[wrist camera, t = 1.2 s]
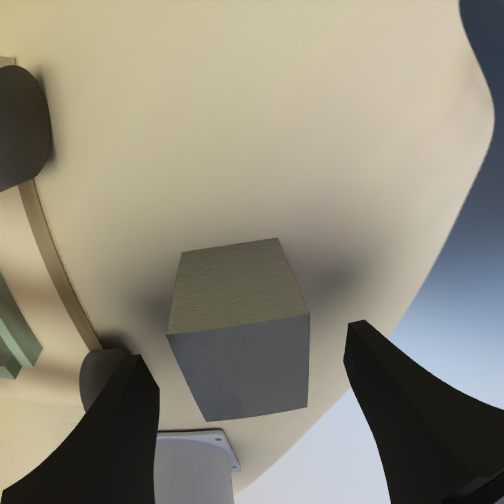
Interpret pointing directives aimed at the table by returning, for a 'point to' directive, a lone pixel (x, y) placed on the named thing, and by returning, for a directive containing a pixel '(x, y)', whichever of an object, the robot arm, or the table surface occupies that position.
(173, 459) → the robot arm
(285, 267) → the block
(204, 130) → the table surface
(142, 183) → the table surface
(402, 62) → the table surface
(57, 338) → the chassis
